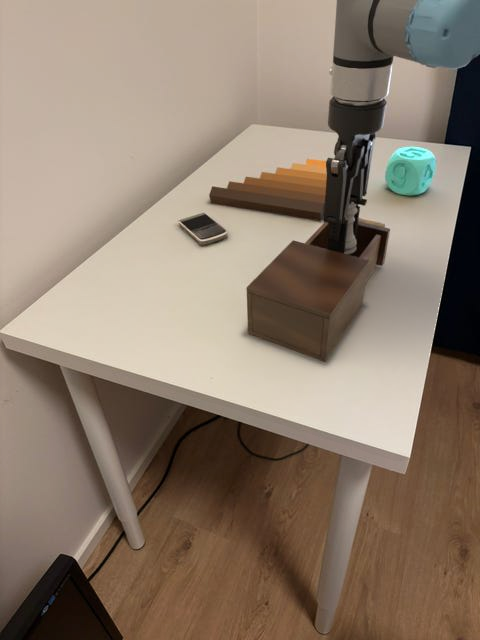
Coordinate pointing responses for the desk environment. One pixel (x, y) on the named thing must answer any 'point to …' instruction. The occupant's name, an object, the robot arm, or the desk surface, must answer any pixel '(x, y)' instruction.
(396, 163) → the decorative dice
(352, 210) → the rook chess piece
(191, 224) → the cell phone
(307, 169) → the pan flute
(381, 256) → the drawer
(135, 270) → the desk surface
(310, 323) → the cabinet
